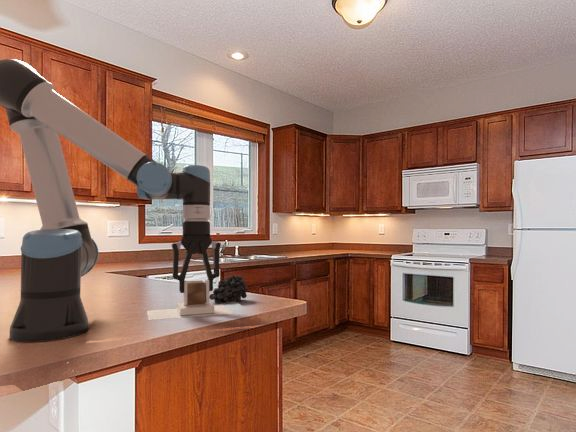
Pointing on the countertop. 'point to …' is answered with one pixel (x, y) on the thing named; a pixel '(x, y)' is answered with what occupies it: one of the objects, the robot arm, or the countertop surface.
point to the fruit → (230, 290)
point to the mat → (175, 314)
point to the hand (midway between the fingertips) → (196, 303)
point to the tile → (195, 309)
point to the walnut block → (195, 292)
